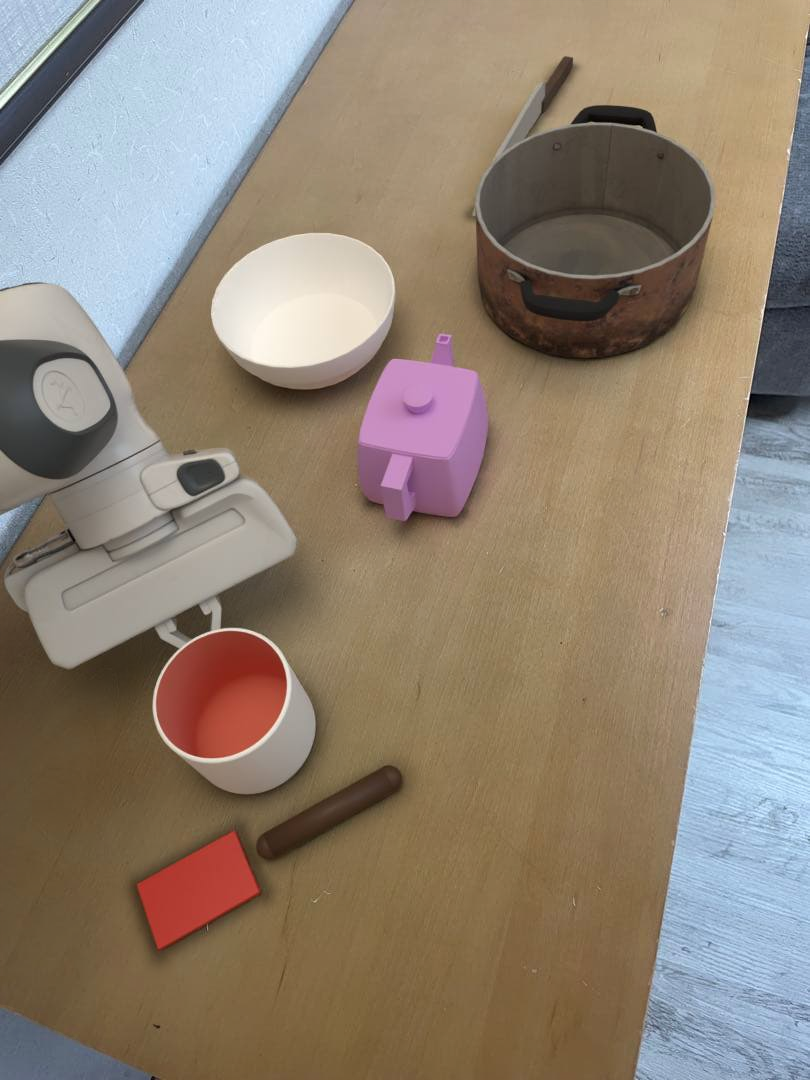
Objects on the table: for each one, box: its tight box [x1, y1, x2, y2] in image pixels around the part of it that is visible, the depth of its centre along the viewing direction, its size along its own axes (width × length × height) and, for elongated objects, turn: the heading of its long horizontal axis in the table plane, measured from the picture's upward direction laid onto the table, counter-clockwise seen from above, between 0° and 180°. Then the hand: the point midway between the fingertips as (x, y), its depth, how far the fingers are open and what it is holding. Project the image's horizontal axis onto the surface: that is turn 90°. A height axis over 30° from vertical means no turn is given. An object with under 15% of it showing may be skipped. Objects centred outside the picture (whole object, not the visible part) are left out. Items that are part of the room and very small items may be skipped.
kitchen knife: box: [471, 55, 574, 218], centre depth 101 cm, size 4×1×30 cm
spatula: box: [136, 764, 403, 951], centre depth 63 cm, size 21×5×2 cm, turn 118°
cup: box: [152, 627, 317, 795], centre depth 64 cm, size 10×10×10 cm
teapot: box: [357, 333, 489, 522], centre depth 75 cm, size 18×10×10 cm, turn 163°
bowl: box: [210, 232, 396, 391], centre depth 86 cm, size 18×18×7 cm
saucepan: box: [474, 104, 717, 359], centre depth 85 cm, size 30×22×11 cm
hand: (212, 657), depth 67 cm, fingers closed, pressing on cup
